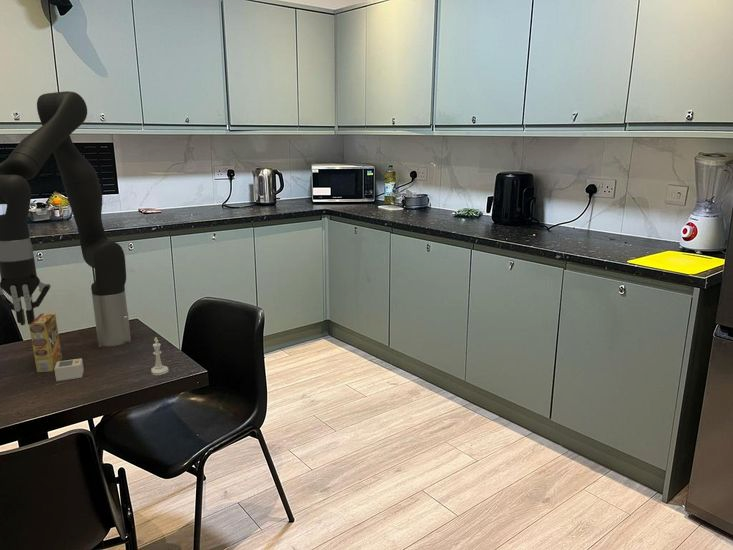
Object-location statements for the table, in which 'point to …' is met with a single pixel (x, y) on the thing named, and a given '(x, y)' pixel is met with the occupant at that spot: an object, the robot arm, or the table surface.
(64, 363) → the digital timer
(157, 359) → the chess piece
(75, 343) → the table surface
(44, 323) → the candy box
